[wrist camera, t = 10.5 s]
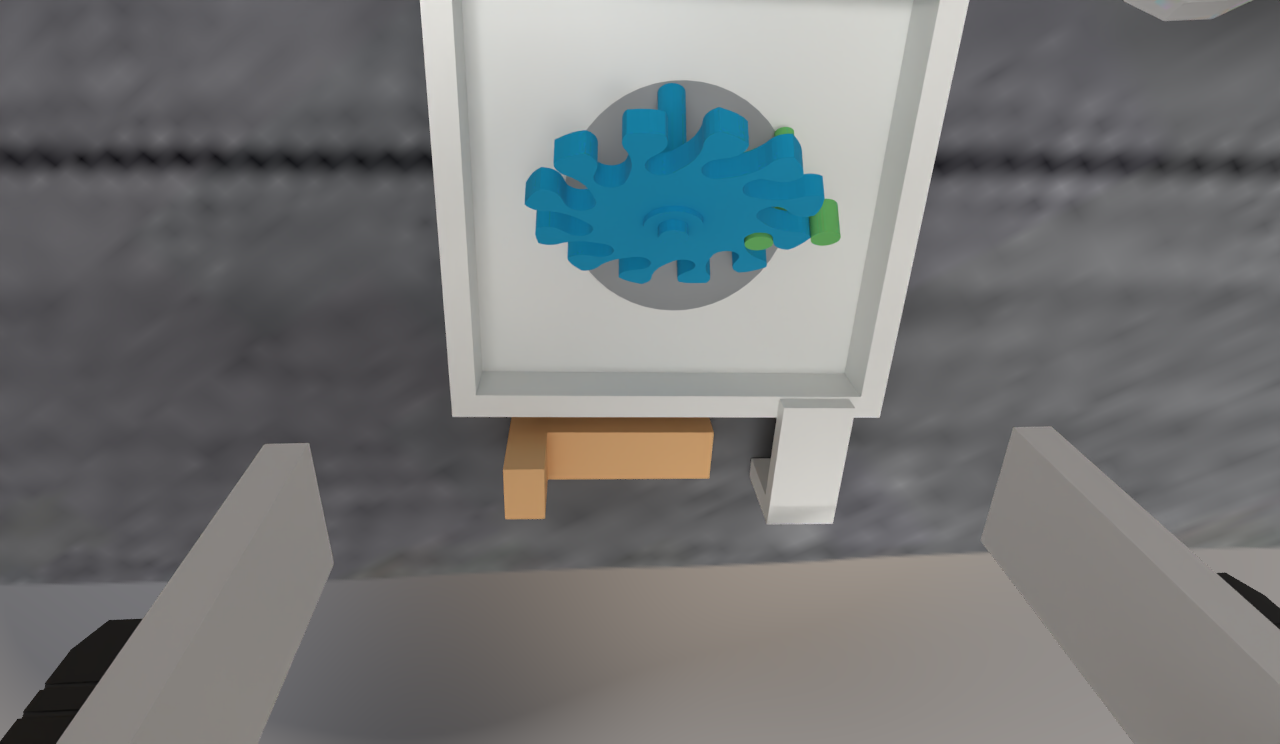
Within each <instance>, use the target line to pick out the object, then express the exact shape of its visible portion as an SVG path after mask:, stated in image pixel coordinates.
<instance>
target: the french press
mask: <svg viewBox="0 0 1280 744" xmlns="http://www.w3.org/2000/svg"><path fill="white" fill-rule="evenodd" d="M1123 1H1124V2H1126V3H1128V4H1130V5H1132V6H1134V7H1136V8H1138V9H1140V10H1142V11H1144V12H1146V13H1149V14H1151V15H1153V16H1155V17H1157V18H1159V19H1161V20H1163V21H1177V20H1200V19H1213V18H1215V17H1217V16H1220V15H1222V14H1224V13H1226V12H1228V11H1230V10H1233V9H1235V8H1237V7H1239V6H1241V5H1243V4H1246V3H1248V2H1250V1H1252V0H1123Z"/></svg>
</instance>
